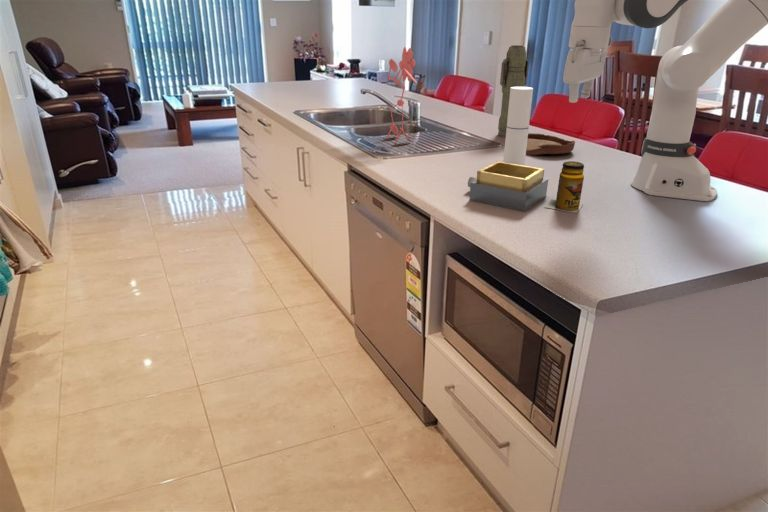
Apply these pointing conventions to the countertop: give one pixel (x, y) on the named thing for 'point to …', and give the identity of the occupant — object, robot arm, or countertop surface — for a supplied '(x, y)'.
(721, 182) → the countertop surface
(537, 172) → the grey and gold box
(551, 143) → the basket
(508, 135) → the cylindrical container
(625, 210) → the countertop surface
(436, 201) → the countertop surface
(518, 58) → the green stone statue
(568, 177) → the condiment
